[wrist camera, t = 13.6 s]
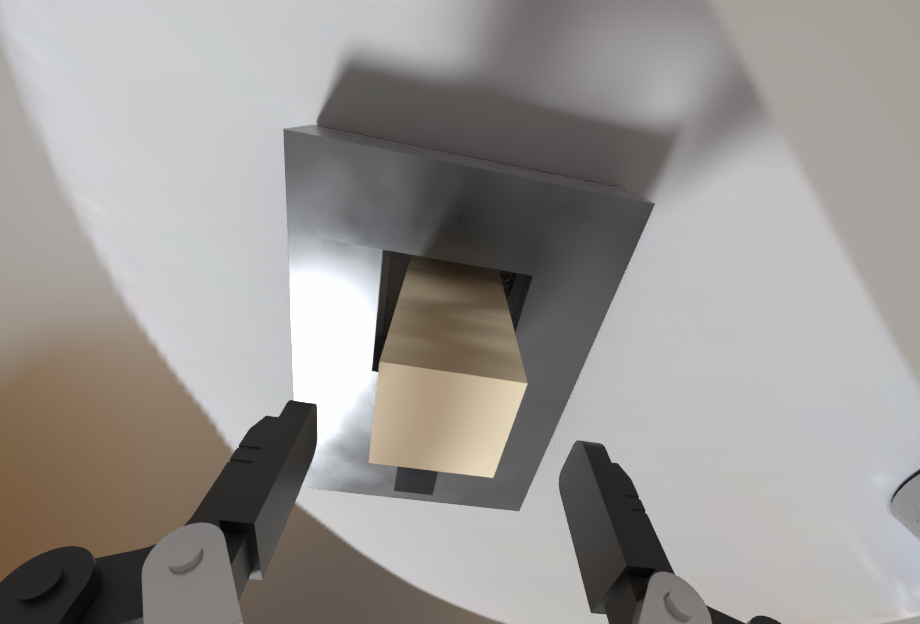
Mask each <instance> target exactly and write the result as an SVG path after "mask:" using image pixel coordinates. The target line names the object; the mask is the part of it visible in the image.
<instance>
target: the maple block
mask: <svg viewBox="0 0 920 624" xmlns="http://www.w3.org/2000/svg"><path fill="white" fill-rule="evenodd" d="M527 384H528V383H527V379H526V375H525V371H524V367H523V363H522V359H521V355H520V351H519V347H518V343H517V339H516V336H515V332H514V328H513V324H512V320H511V316H510V312H509V308H508V304H507V300H506V296H505V292H504V288H503V284H502V280H501V277H500V273H499V270H497V269H491V268H485V267H479V266H474V265H468V264H462V263H457V262H451V261H445V260H439V259H434V258H428V257H422V256H417V255H411V258H410V261H409V265H408V268H407V271H406V275H405V278H404V281H403V285H402V288H401V291H400V295H399V298H398V301H397V305H396V308H395V311H394V315H393V318H392V321H391V325H390V328H389V331H388V335H387V338H386V341H385V345H384V348H383V351H382V355H381V358H380V361H379V370H378V380H377V389H376V398H375V408H374V417H373V426H372V435H371V445H370V454H369V463H373V464H381V465H390V466H398V467H406V468H415V469H423V470H431V471H440V472H448V473H456V474H465V475H473V476H481V477H490V478H493V477H494V474H495V472H496V469H497V466H498V463H499V461H500V458H501V455H502V452H503V450H504V447H505V444H506V441H507V439H508V436H509V433H510V431H511V428H512V425H513V422H514V420H515V417H516V414H517V411H518V409H519V406H520V403H521V400H522V398H523V395H524V392H525V390H526V387H527Z"/></svg>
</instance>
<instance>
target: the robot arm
mask: <svg viewBox="0 0 920 624" xmlns="http://www.w3.org/2000/svg"><path fill="white" fill-rule="evenodd" d="M317 437H318V433H317V404H316V403H309V402H302V401H294V400H290V401H289V402H288V403H287V404H286V406H285V407H284V409H283V411H282V413H281V414H280V416H279V417H272V416H265V417H264V418H263V419H262V420H260V421H259V422H258V423H256V424H255V425H254V426H253V427H251V428H250V429H249V431H248V432H247V434H246V435H245V437H244V438H243V440H242V441H241V443H240V444H239V448H237V449H236V450H235V452H234V454H233V455H232V457H231V458H230V462H228V463H227V464H226V466H225V467H224V469H223V470H222V472H221V474H220V475H219V476H218V478H217V480H216V481H215V482H214V484H213V486H212V487H211V489H210V490H209V492H208V493H207V495H206V496H205V498H204V499H203V501H202V502H201V504H200V505H199V507H198V508H197V510H196V512H195V513H194V515H193V516H192V517H191V519H190V520H189V521H188V522H187V523H186V524H185V525H184V526H183V527H181V528H179V529H177V530H175V531H173V532H172V533H170V534H168V535H167V536H166V537H164V538H163V539H162V540H161V541H160V542H159V543H157V544H155V545H152V546H150V547H147V548H143V549H139V550H134V551H130V552H125V553H120V554H115V555H110V556H105V557H101V558H96V559H94V557H93V556H92V554H91V553H90V552H89V551H88V550H86V549H84V548H82V547H76V546H68V547H61V548H57V549H54V550H50V551H48V552H45V553H43V554H40V555H38V556H36V557H34V558H32V559H30V560H29V561H27V562H25V563H24V564H22V565H21V566H19V567H18V568H17V569H15V570H14V571H13V572H11V573H10V574H9V575H8V576H7V577H6V578H5V579H4V580H3V581H2V582H1V583H0V624H243V621H242V617H241V611H240V607H239V602H238V601H239V599H240V597H241V594H242V592H243V590H244V588H245V585H246V584H247V581H248V579H257V580H262V579H263V577H264V574H265V572H266V570H267V567H268V565H269V563H270V560H271V558H272V556H273V553H274V551H275V548H276V546H277V544H278V541H279V539H280V537H281V534H282V532H283V529H284V527H285V525H286V522H287V520H288V517H289V515H290V513H291V510H292V508H293V506H294V503H295V501H296V498H297V496H298V494H299V491H300V489H301V486H302V484H303V482H304V479H305V477H306V475H307V472H308V470H309V467H310V465H311V463H312V460H313V457H314V454H315V451H316V446H317ZM559 490H560V494H561V498H562V502H563V506H564V510H565V514H566V518H567V522H568V525H569V529H570V533H571V537H572V541H573V545H574V549H575V553H576V556H577V560H578V564H579V568H580V572H581V576H582V580H583V584H584V588H585V591H586V595H587V599H588V603H589V607H590V611H591V613H597V614H607V618H608V621H609V624H745V623H743V622H741V621H739V620H737V619H734V618H732V617H730V616H728V615H726V614H723V613H721V612H719V611H717V610H715V609H713V608H711V607H709V606H707V605H705V603H704V601H703V600H702V598H701V597H700V595H699V594H698V593H697V592H696V591H695V589H694V588H693V587H692V586H690V585H689V584H688V583H687V582H686V581H685V580H683V579H682V578H680V577H678V576H676V575H675V573H674V571H673V570H672V568H671V565H670V563H669V561H668V559H667V557H666V555H665V552H664V550H663V548H662V546H661V544H660V541H659V539H658V537H657V535H656V533H655V531H654V528H653V526H652V524H651V522H650V520H649V517H648V515H647V514H645V509H644V506H643V504H642V502H641V500H639V496H638V493H637V491H636V489H635V487H634V485H633V482H632V480H631V479H630V477H629V476H628V475H627V474H626V473H625V471H624V470H623V469H622V468H621V467H620V465H619V464H617V463H611V460H610V458H609V456H608V453H607V451H606V449H605V447H604V446H603V445H602V444H600V443H593V442H586V441H576V442H575V443H574V445H573V447H572V449H571V451H570V453H569V455H568V457H567V459H566V461H565V464H564V466H563V468H562V470H561V472H560V477H559ZM891 512H892V514H893V515H894V517H895V518H896V519H897V520H898V521H899V522H900V523H901V524H902V525H904V526H905V527H906V528H907V529H908V530H909V531H910V532H911V533H912V534H913V535H914V536H915V537H916V538H917V539H918V540H919V541H920V474H919V475H917V476H916V477H914V478H913V479H912V480H910V481H909V482H908V483H907V484H905V485H904V486H903V487H902V488H901V489H900V490H899V491H898V493H897V494H896V496H895V497H894V498H893V501H892V504H891ZM746 624H781V623H780V622H778V621H776V620H774V619H772V618H770V617H766V616H756V617H754V618H752V619H751V620H750V621H749V622H747V623H746Z"/></svg>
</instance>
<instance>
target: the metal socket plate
mask: <svg viewBox="0 0 920 624" xmlns="http://www.w3.org/2000/svg"><path fill="white" fill-rule="evenodd" d="M284 154H285V179H286V204H287V229H288V253H289V278H290V303H291V328H292V353H293V378H294V401H302V402H309V403H316V404H317V433H318V437H317V446H316V451H315V454H314V457H313V460H312V463H311V465H310V467H309V470H308V472H307V475H306V477H305V479H304V482H303V484H302V486H301V487H302V488H311V489H320V490H329V491H339V492H348V493H357V494H366V495H375V496H384V497H394V498H403V499H412V500H421V501H430V502H439V503H448V504H458V505H467V506H476V507H485V508H494V509H503V510H513V511H519V510H520V508H521V506H522V503H523V501H524V499H525V497H526V494H527V492H528V490H529V487H530V485H531V483H532V481H533V478H534V476H535V474H536V472H537V469H538V467H539V465H540V463H541V460H542V458H543V456H544V454H545V451H546V449H547V447H548V444H549V442H550V440H551V438H552V435H553V433H554V431H555V429H556V426H557V424H558V422H559V420H560V417H561V415H562V413H563V411H564V408H565V406H566V404H567V402H568V399H569V397H570V395H571V392H572V390H573V388H574V386H575V383H576V381H577V379H578V377H579V374H580V372H581V370H582V368H583V365H584V363H585V361H586V359H587V356H588V354H589V352H590V349H591V347H592V345H593V343H594V340H595V338H596V336H597V334H598V331H599V329H600V327H601V325H602V322H603V320H604V318H605V316H606V313H607V311H608V309H609V307H610V304H611V302H612V300H613V297H614V295H615V293H616V291H617V288H618V286H619V284H620V282H621V279H622V277H623V275H624V273H625V270H626V268H627V266H628V264H629V261H630V259H631V257H632V254H633V252H634V250H635V248H636V245H637V243H638V241H639V239H640V236H641V234H642V232H643V230H644V227H645V225H646V223H647V221H648V218H649V216H650V214H651V212H652V209H653V207H654V205H655V204H654V203H652V202H650V201H648V200H646V199H644V198H642V197H640V196H638V195H636V194H634V193H632V192H630V191H628V190H626V189H624V188H619V187H614V186H610V185H605V184H600V183H595V182H590V181H585V180H580V179H575V178H570V177H566V176H561V175H556V174H551V173H546V172H541V171H536V170H531V169H526V168H521V167H517V166H512V165H507V164H502V163H497V162H492V161H487V160H482V159H477V158H473V157H468V156H463V155H458V154H453V153H448V152H443V151H438V150H433V149H428V148H424V147H419V146H414V145H409V144H404V143H399V142H394V141H389V140H384V139H380V138H375V137H370V136H365V135H360V134H355V133H350V132H345V131H340V130H335V129H331V128H326V127H321V126H316V125H308V126H301V127H294V128H287V129H284ZM391 251H394V252H399V253H405V254H411V255H417V256H422V257H428V258H434V259H439V260H445V261H451V262H457V263H462V264H468V265H474V266H479V267H485V268H491V269H497V270H502V271H508V272H514V273H516V275H515V278H514V282H513V285H512V289H511V292H510V296H509V299H508V303H507V304H508V308H509V312H510V316H511V320H512V324H513V328H514V332H515V336H516V339H517V343H518V347H519V351H520V355H521V359H522V363H523V367H524V371H525V375H526V379H527V383H528V384H527V387H526V390H525V392H524V395H523V398H522V400H521V403H520V406H519V409H518V411H517V414H516V417H515V420H514V422H513V425H512V428H511V431H510V433H509V436H508V439H507V441H506V444H505V447H504V450H503V452H502V455H501V458H500V461H499V463H498V466H497V469H496V472H495V474H494V477H493V478H490V477H481V476H473V475H465V474H456V473H448V472H440V471H431V470H423V469H415V468H406V467H398V466H390V465H381V464H373V463H369V454H370V445H371V435H372V426H373V417H374V408H375V398H376V389H377V380H378V370H379V361H380V358H381V355H382V351H383V348H384V345H385V341H386V338H382V337H383V327H384V318H385V308H386V298H387V289H388V279H389V269H390V260H391Z"/></svg>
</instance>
